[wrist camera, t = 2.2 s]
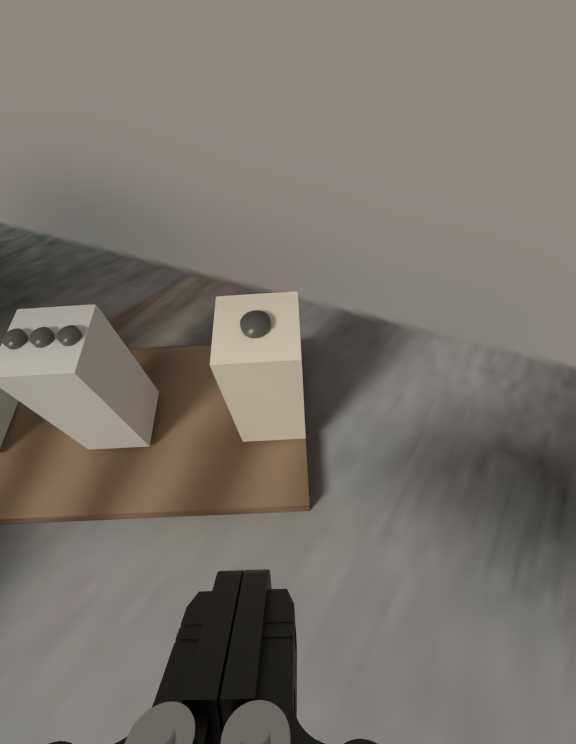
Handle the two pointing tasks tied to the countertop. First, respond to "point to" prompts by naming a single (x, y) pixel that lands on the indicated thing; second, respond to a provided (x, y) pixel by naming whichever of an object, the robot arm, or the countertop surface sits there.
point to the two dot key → (6, 412)
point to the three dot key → (78, 376)
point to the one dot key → (260, 364)
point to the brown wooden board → (153, 459)
